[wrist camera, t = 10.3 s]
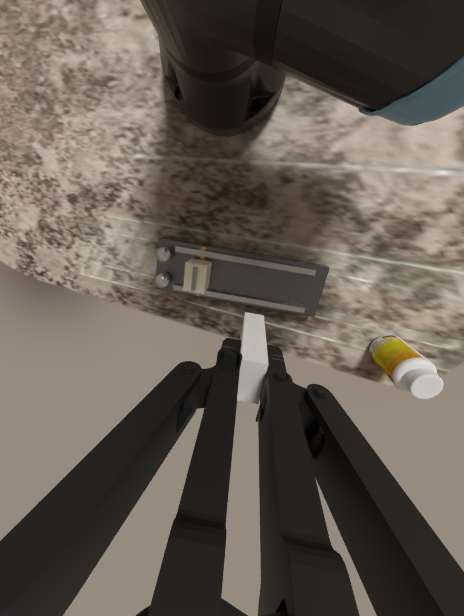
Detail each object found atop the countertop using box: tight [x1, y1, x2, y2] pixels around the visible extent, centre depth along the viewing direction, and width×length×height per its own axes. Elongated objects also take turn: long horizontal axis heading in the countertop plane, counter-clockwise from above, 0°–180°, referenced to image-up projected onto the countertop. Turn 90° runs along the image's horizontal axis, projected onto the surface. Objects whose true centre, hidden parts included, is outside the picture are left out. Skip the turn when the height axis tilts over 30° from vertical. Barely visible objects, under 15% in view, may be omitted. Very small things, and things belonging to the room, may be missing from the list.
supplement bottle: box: [369, 335, 443, 399], centre depth 34 cm, size 6×6×10 cm
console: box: [155, 238, 329, 317], centre depth 35 cm, size 8×26×4 cm, turn 81°
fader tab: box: [183, 258, 212, 294], centre depth 33 cm, size 4×3×5 cm
